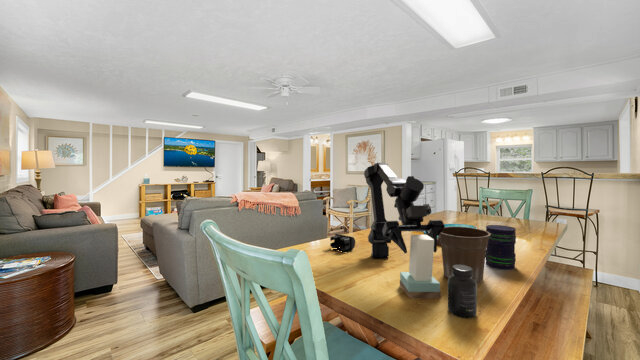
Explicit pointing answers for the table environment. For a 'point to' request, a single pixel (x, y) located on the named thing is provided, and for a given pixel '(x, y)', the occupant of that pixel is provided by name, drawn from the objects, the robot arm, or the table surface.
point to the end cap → (342, 242)
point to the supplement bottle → (462, 292)
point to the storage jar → (501, 247)
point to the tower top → (419, 284)
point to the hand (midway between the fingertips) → (420, 252)
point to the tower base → (420, 293)
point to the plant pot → (464, 249)
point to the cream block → (421, 257)
